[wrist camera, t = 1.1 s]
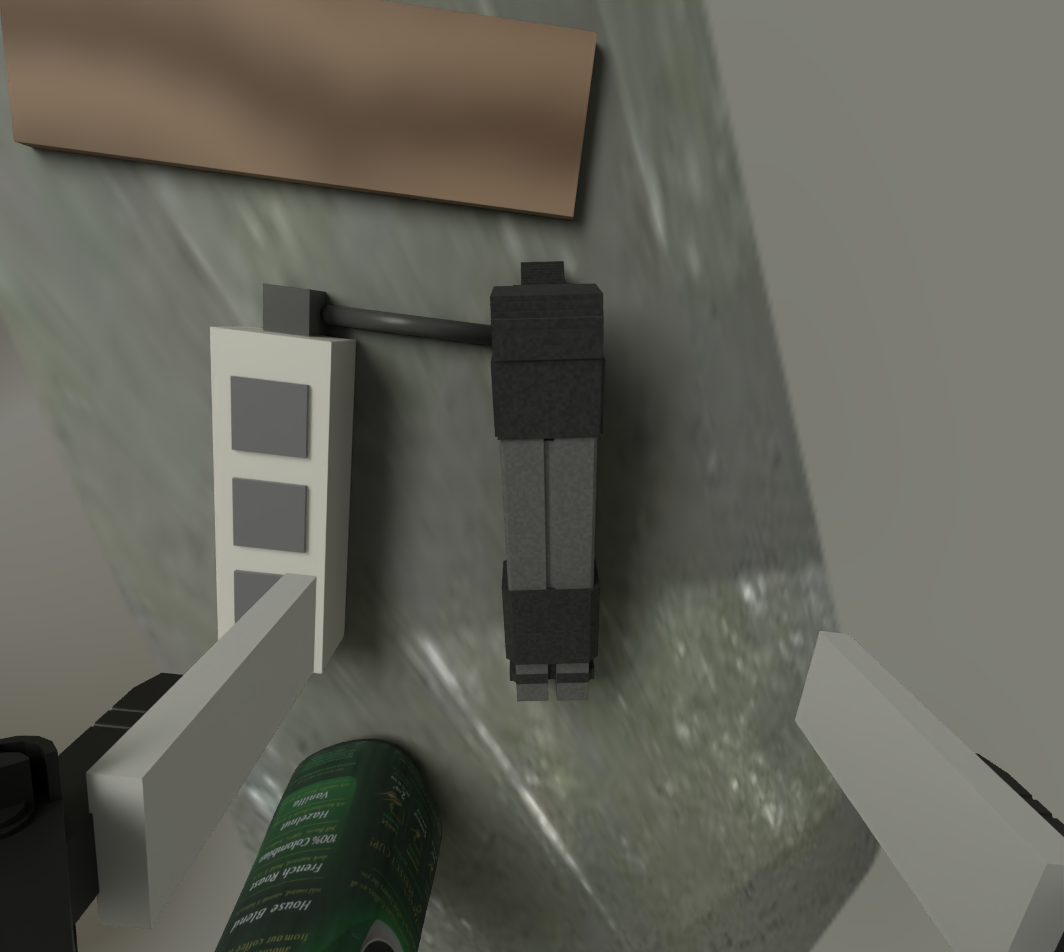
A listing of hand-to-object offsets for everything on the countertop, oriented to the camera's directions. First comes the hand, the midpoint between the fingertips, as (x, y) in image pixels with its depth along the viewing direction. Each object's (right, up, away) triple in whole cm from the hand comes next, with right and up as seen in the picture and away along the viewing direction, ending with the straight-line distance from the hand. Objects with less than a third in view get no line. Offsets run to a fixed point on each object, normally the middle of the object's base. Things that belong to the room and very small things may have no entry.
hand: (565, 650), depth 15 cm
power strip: (-9, +4, +14) cm, 17 cm away
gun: (0, +4, +15) cm, 15 cm away
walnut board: (-11, +21, +10) cm, 25 cm away
